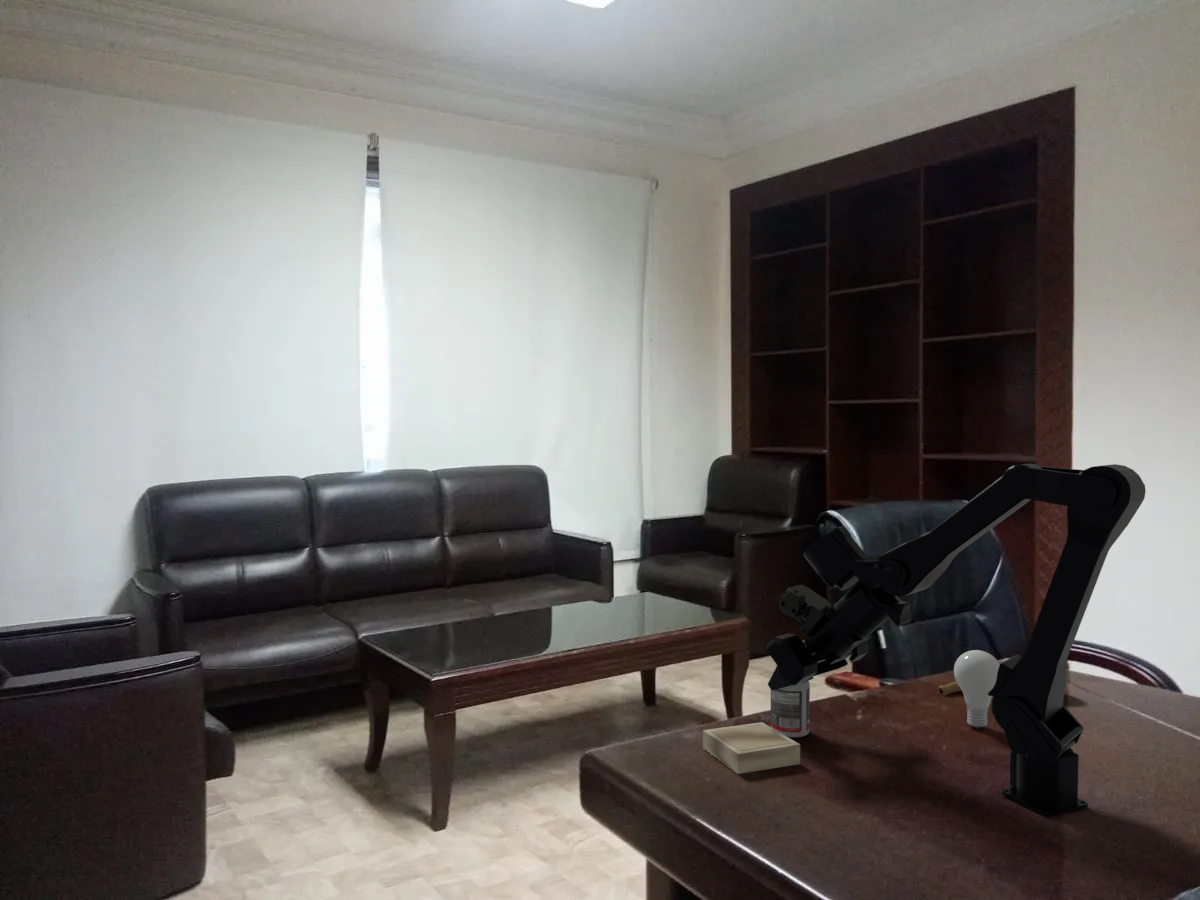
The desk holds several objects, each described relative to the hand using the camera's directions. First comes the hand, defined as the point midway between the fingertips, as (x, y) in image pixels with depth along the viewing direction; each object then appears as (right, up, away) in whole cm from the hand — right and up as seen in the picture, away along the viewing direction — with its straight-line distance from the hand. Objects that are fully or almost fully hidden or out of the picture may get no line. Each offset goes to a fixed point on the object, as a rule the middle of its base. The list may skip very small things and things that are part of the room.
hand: (781, 683), depth 123 cm
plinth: (-6, -7, -10) cm, 14 cm away
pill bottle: (+1, -7, -1) cm, 7 cm away
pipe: (+39, -7, +17) cm, 43 cm away
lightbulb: (+28, -7, +1) cm, 29 cm away
